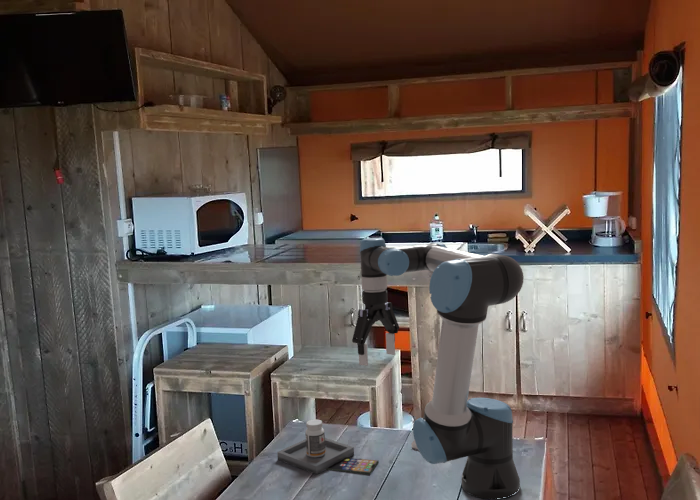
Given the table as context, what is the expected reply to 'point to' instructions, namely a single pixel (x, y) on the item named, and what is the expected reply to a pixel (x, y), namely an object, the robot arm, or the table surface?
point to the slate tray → (300, 459)
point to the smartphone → (355, 466)
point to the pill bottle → (315, 438)
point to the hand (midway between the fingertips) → (377, 359)
